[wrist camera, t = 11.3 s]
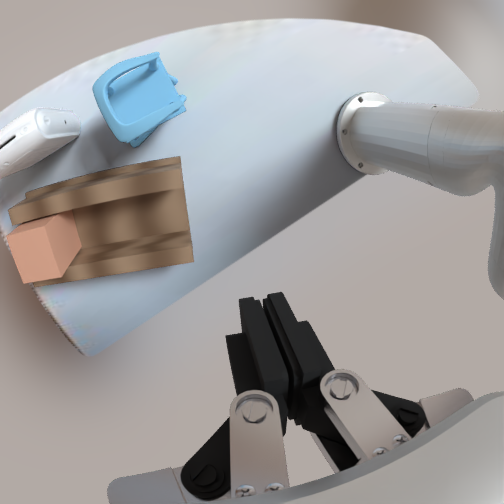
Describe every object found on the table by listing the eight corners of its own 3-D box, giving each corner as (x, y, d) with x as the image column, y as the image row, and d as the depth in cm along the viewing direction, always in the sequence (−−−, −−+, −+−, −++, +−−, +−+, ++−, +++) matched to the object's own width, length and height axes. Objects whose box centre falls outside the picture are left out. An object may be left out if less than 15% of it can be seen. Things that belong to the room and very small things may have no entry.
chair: (195, 115, 30) (202, 107, 19) (133, 148, 30) (110, 159, 19) (168, 63, 26) (163, 31, 16) (107, 96, 26) (72, 83, 15)
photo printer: (76, 105, 25) (28, 99, 14) (86, 134, 27) (41, 142, 16) (17, 143, 24) (-38, 159, 13) (27, 171, 26) (-26, 196, 16)
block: (70, 203, 29) (44, 225, 22) (81, 246, 32) (61, 277, 25) (35, 213, 28) (6, 236, 21) (47, 253, 31) (23, 283, 24)
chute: (180, 156, 31) (179, 162, 26) (192, 245, 37) (194, 267, 32) (28, 191, 27) (6, 204, 22) (51, 269, 33) (36, 291, 28)
